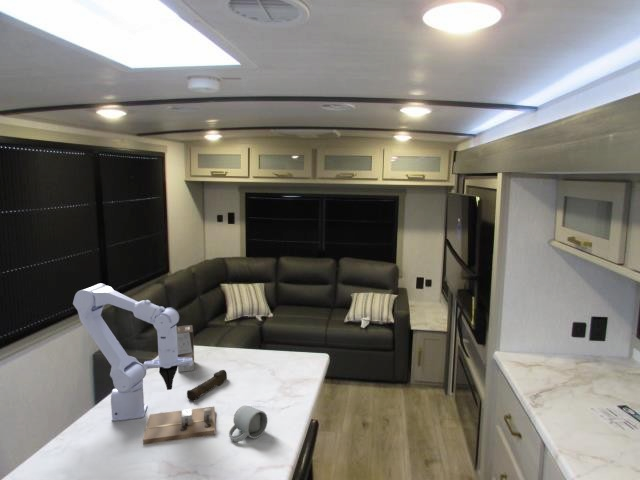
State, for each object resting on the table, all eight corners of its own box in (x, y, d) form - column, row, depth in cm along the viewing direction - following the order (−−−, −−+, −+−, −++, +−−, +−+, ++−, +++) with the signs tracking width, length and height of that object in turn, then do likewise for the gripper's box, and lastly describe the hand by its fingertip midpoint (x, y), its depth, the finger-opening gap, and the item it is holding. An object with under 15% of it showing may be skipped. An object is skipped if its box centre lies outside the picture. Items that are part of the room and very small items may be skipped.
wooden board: (143, 444, 123) (142, 428, 123) (149, 418, 137) (149, 404, 136) (214, 434, 128) (214, 419, 128) (214, 410, 142) (214, 396, 141)
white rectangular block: (181, 427, 129) (180, 418, 128) (182, 418, 133) (182, 409, 133) (191, 426, 129) (191, 416, 129) (192, 417, 134) (192, 408, 134)
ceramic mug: (250, 421, 135) (249, 398, 134) (268, 431, 130) (267, 407, 129) (223, 437, 127) (221, 413, 126) (240, 448, 122) (239, 423, 121)
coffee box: (194, 370, 172) (193, 331, 170) (178, 372, 170) (176, 333, 168) (194, 361, 181) (192, 324, 179) (178, 363, 179) (176, 326, 177)
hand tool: (194, 403, 147) (194, 390, 146) (186, 400, 149) (185, 387, 148) (232, 381, 163) (231, 369, 163) (224, 378, 165) (223, 367, 165)
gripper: (140, 354, 130) (143, 396, 132) (190, 350, 133) (192, 391, 135) (145, 345, 137) (147, 386, 139) (192, 342, 140) (193, 381, 142)
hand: (169, 388), depth 137 cm, fingers closed
